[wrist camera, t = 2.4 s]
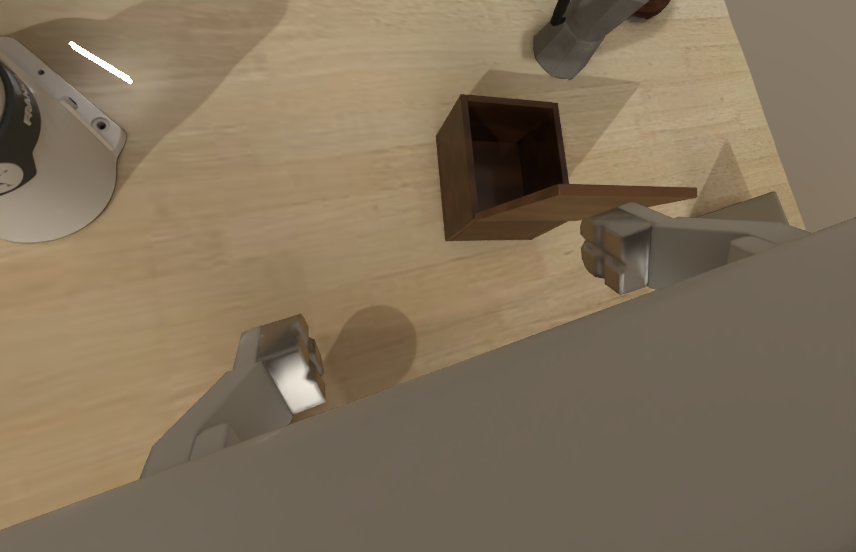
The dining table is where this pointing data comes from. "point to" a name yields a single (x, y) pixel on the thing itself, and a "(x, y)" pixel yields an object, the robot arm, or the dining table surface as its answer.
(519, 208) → the lid
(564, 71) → the coffeepot
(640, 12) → the scroll
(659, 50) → the dining table surface
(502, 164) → the box
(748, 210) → the laptop
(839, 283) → the robot arm
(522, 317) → the dining table surface
